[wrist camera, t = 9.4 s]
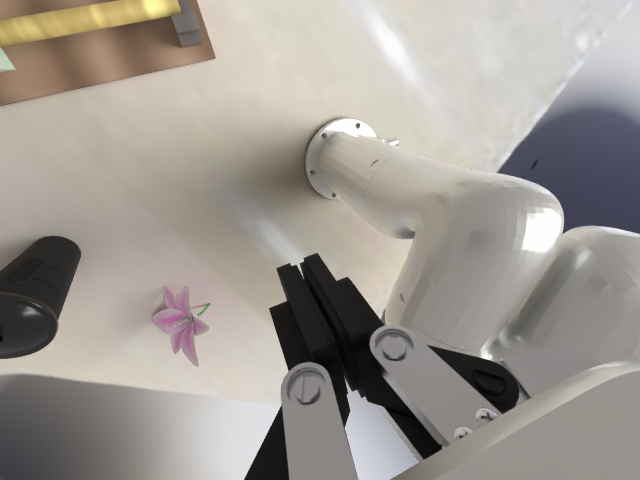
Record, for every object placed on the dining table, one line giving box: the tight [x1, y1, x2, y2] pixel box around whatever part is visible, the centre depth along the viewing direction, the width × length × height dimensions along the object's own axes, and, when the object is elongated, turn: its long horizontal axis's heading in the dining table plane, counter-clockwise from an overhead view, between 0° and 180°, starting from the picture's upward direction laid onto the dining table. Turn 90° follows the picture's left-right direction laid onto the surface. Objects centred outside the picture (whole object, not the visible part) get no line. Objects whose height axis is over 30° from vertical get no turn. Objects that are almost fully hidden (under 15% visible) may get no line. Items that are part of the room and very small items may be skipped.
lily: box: [152, 286, 210, 367], centre depth 45 cm, size 12×12×10 cm
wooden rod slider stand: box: [0, 0, 216, 106], centre depth 25 cm, size 26×9×8 cm, turn 101°
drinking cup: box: [0, 236, 81, 359], centre depth 29 cm, size 8×8×20 cm
